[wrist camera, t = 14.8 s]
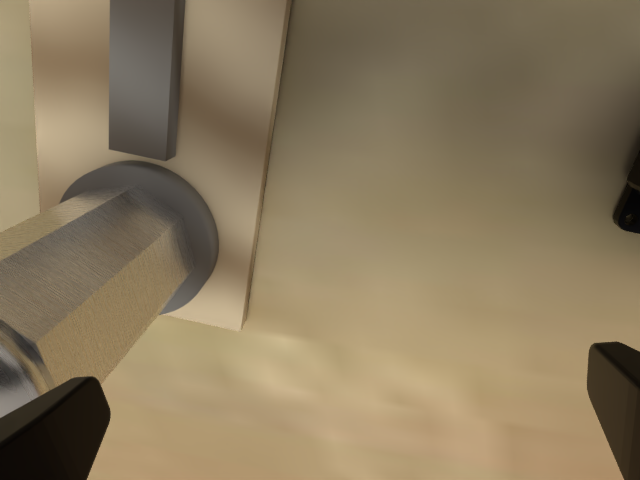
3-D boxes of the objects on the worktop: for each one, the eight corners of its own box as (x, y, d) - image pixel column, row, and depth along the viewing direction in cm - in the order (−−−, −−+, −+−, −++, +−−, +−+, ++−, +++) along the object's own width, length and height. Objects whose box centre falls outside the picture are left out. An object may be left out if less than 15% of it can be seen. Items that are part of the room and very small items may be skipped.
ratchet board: (245, 320, 24) (214, 385, 19) (56, 279, 24) (-19, 332, 19) (315, -168, 16) (291, -256, 11) (36, -220, 16) (-97, -327, 12)
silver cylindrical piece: (216, 238, 20) (76, 402, 11) (155, 323, 22) (-8, 523, 13) (104, 158, 19) (-152, 260, 10) (51, 254, 21) (-204, 413, 12)
